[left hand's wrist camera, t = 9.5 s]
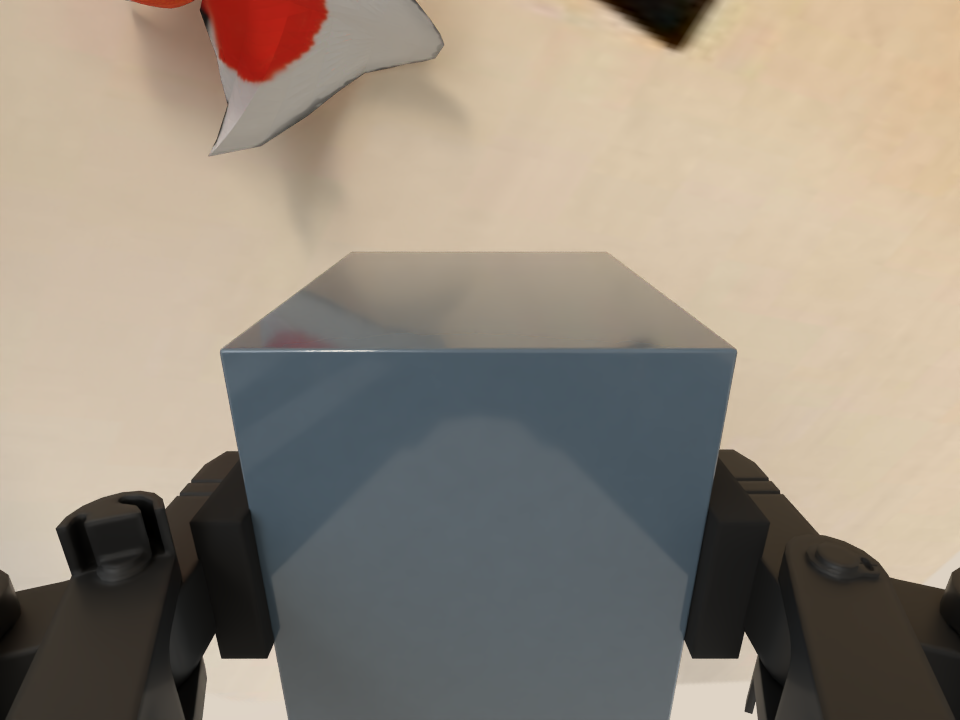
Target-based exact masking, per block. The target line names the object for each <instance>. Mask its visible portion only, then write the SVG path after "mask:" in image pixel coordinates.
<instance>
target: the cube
mask: <svg viewBox="0 0 960 720" xmlns="http://www.w3.org/2000/svg"><path fill="white" fill-rule="evenodd" d="M220 355H221V361H222V366H223V372H224V377H225V382H226V388H227V393H228V398H229V404H230V409H231V415H232V420H233V425H234V431H235V436H236V441H237V447H238V452H239V458H240V463H241V468H242V474H243V479H244V484H245V490H246V495H247V501H248V506H249V509H250V513H251V519H252V524H253V530H254V535H255V540H256V546H257V551H258V557H259V562H260V567H261V573H262V578H263V584H264V589H265V594H266V600H267V605H268V610H269V616H270V621H271V627H272V632H273V637H274V646H275V651H276V656H277V662H278V667H279V672H280V678H281V683H282V689H283V694H284V699H285V705H286V710H287V715H288V720H670V715H671V709H672V704H673V698H674V693H675V688H676V682H677V677H678V671H679V666H680V660H681V655H682V650H683V644H684V639H685V633H686V628H687V622H688V617H689V612H690V606H691V601H692V595H693V590H694V584H695V579H696V573H697V568H698V563H699V557H700V552H701V546H702V541H703V535H704V530H705V525H706V519H707V514H708V508H709V503H710V497H711V492H712V487H713V481H714V476H715V470H716V465H717V459H718V454H719V449H720V443H721V438H722V432H723V427H724V421H725V416H726V411H727V405H728V400H729V394H730V389H731V383H732V378H733V372H734V367H735V362H736V356H737V350H736V348H734V347H733V346H732V345H730V344H729V343H728V342H726V341H725V340H724V339H722V338H721V337H720V336H718V335H717V334H716V333H714V332H713V331H712V330H710V329H709V328H708V327H706V326H705V325H704V324H702V323H701V322H700V321H698V320H697V319H696V318H694V317H693V316H692V315H690V314H689V313H688V312H686V311H685V310H684V309H682V308H681V307H680V306H678V305H677V304H676V303H674V302H673V301H672V300H670V299H669V298H668V297H666V296H665V295H664V294H662V293H661V292H660V291H658V290H657V289H656V288H654V287H653V286H652V285H650V284H649V283H648V282H646V281H645V280H644V279H642V278H641V277H640V276H638V275H637V274H636V273H634V272H633V271H632V270H630V269H629V268H628V267H626V266H625V265H624V264H622V263H621V262H620V261H618V260H617V259H616V258H614V257H613V256H612V255H610V254H609V253H608V252H351V253H349V254H348V255H347V256H345V257H344V258H343V259H341V260H340V261H339V262H337V263H336V264H335V265H333V266H332V267H331V268H329V269H328V270H326V271H325V272H324V273H322V274H321V275H320V276H318V277H317V278H316V279H314V280H313V281H312V282H310V283H309V284H308V285H306V286H305V287H304V288H302V289H301V290H300V291H298V292H297V293H296V294H294V295H293V296H292V297H290V298H289V299H287V300H286V301H285V302H283V303H282V304H281V305H279V306H278V307H277V308H275V309H274V310H273V311H271V312H270V313H269V314H267V315H266V316H265V317H263V318H262V319H261V320H259V321H258V322H257V323H255V324H254V325H252V326H251V327H250V328H248V329H247V330H246V331H244V332H243V333H242V334H240V335H239V336H238V337H236V338H235V339H234V340H232V341H231V342H230V343H228V344H227V345H226V346H224V347H223V348H222V349H221V350H220Z"/></svg>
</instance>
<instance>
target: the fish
mask: <svg viewBox="0 0 960 720" xmlns="http://www.w3.org/2000/svg"><path fill="white" fill-rule="evenodd" d="M127 1H132V2H137V3H140V4H144V5H149V6H155V7H161V8H176V7H180V6H183V5H186V4H188V3H190V2H192V1H194V0H127ZM200 12H201V15H202V17H203V20H204V23H205V26H206V29H207V31H208V34H209V37H210V40H211V43H212V45H213V48H214V51H215V53H216V56H217V60H218V66H219V71H220V77H221V81H222V85H223V89H224V92H225V96H226V100H227V103H228V106H227V109H226V112H225V115H224V118H223V122H222V125H221V128H220V131H219V134H218V137H217V140H216V142H215V144H214V146H213V148H212V150H211V152H210V154H209V156H213V155H218V154H223V153H228V152H233V151H238V150H244V149H249V148H254V147H259V146H262V145H263V144H265V143H266V142H268V141H269V140H271V139H273V138H274V137H276V136H277V135H279V134H280V133H282V132H283V131H285V130H286V129H288V128H289V127H291V126H293V125H294V124H296V123H297V122H299V121H300V120H302V119H303V118H305V117H306V116H308V115H309V114H310V113H312V112H313V111H314V110H315V109H317V108H318V107H319V106H320V105H322V104H323V103H324V102H325V101H327V100H328V99H329V98H330V97H332V96H333V95H334V94H335V93H337V92H338V91H340V90H341V89H342V88H344V87H345V86H347V85H348V84H350V83H351V82H352V81H354V80H355V79H357V78H358V77H360V76H361V75H363V74H364V73H367V72H372V71H377V70H382V69H387V68H391V67H395V66H399V65H404V64H408V63H415V62H422V61H426V60H430V59H434V58H436V56H437V55H438V53H439V52H440V50H441V49H442V48H443V46H444V43H443V40H442V38H441V35H440V33H439V32H438V30H437V29H436V27H435V26H434V24H433V23H432V21H431V20H430V18H429V17H428V16H427V15H426V13H425V12H424V11H423V10H422V8H421V7H420V6H419V4H418V3H417V2H416V1H415V0H202V3H201V8H200Z"/></svg>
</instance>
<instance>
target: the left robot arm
mask: <svg viewBox="0 0 960 720" xmlns="http://www.w3.org/2000/svg"><path fill="white" fill-rule="evenodd" d="M56 531H57V534H58V537H59V540H60V542H61V545H62V548H63V551H64V554H65V557H66V560H67V563H68V565H69V568H70V571H71V574H72V577H71V579H70V580H68V581H64V582H59V583H55V584H50V585H45V586H41V587H36V588H31V589H27V590H22V591H18V592H15V590H14V588H13V585H12V583H11V580H10V578H9V575H8V574H6V573H5V572H3V571H2V570H0V720H202V717H203V708H204V699H205V690H206V682H207V676H206V669H205V664H204V660H203V654H204V653H205V651H206V649H207V647H208V645H209V644H210V642H211V640H212V638H213V636H214V635H215V634H216V638H217V642H218V646H219V650H220V655H221V659H267V658H268V656H269V653H270V651H271V649H272V646H273V644H274V637H273V632H272V627H271V621H270V616H269V610H268V605H267V600H266V594H265V589H264V584H263V578H262V573H261V567H260V562H259V557H258V551H257V546H256V540H255V535H254V530H253V524H252V519H251V513H250V509H249V506H248V501H247V495H246V490H245V484H244V479H243V474H242V468H241V463H240V458H239V452H238V451H226V452H225V453H223V454H222V455H220V456H218V457H217V458H215V459H213V460H212V461H210V462H209V463H207V464H205V465H204V466H203V468H202V469H201V470H200V471H199V472H198V473H197V474H196V475H195V477H194V478H193V479H192V480H191V483H188V484H187V485H186V487H185V488H184V489H183V490H182V491H181V492H180V496H177V497H176V498H175V499H174V500H173V501H172V502H171V503H170V505H169V506H168V507H167V508H166V509H165V506H164V503H163V499H162V498H161V497H159V496H158V495H156V494H155V493H151V492H145V491H133V492H122V493H118V494H114V495H110V496H107V497H103V498H100V499H98V500H96V501H93V502H91V503H89V504H86V505H84V506H82V507H80V508H79V509H77V510H76V511H74V512H73V513H71V514H70V515H68V516H67V517H66V518H65V519H64V520H63V521H62V522H61V523H60V524H59V525H58V527H57V528H56ZM744 632H745V633H746V634H747V636H748V638H749V640H750V641H751V643H752V645H753V647H754V649H755V650H756V652H757V654H758V656H757V660H756V664H755V668H754V672H753V676H752V680H751V684H750V688H749V692H748V696H747V700H746V706H745V712H748V713H751V714H752V713H753V709H754V705H755V702H756V706H757V715H758V720H960V568H958V569H957V570H955V571H954V572H952V574H951V576H950V579H949V581H948V584H947V586H946V589H945V590H944V589H939V588H935V587H930V586H926V585H921V584H916V583H912V582H907V581H902V580H898V579H894V578H890V577H889V576H888V574H887V573H886V571H885V570H884V569H883V567H882V566H881V565H880V563H879V562H878V561H876V560H875V559H874V558H872V557H871V556H870V555H868V554H867V553H866V552H864V551H863V550H861V549H859V548H857V547H855V546H853V545H851V544H849V543H847V542H845V541H842V540H838V539H835V538H832V537H828V536H823V535H819V534H818V533H817V532H816V530H815V529H814V528H813V527H812V526H811V525H810V524H809V523H808V521H807V520H806V519H805V518H804V517H803V516H802V515H801V514H800V513H799V511H798V510H797V509H796V508H795V507H794V506H793V505H792V504H791V503H790V501H789V500H788V499H787V498H786V497H785V496H784V495H783V494H780V490H779V489H778V488H777V487H776V486H775V485H774V484H773V482H772V481H769V478H768V477H767V476H766V475H765V474H764V472H763V471H762V470H761V469H760V468H759V467H758V466H757V465H756V464H755V463H754V462H753V461H751V460H749V459H748V458H746V457H745V456H743V455H741V454H740V453H738V452H736V451H735V450H719V454H718V459H717V465H716V470H715V476H714V481H713V487H712V492H711V497H710V503H709V508H708V514H707V519H706V525H705V530H704V535H703V541H702V546H701V552H700V557H699V563H698V568H697V573H696V579H695V584H694V590H693V595H692V601H691V606H690V612H689V617H688V622H687V628H686V633H685V639H684V640H685V642H686V645H687V647H688V649H689V652H690V654H691V657H692V659H738V657H739V653H740V649H741V645H742V640H743V636H744Z"/></svg>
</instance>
